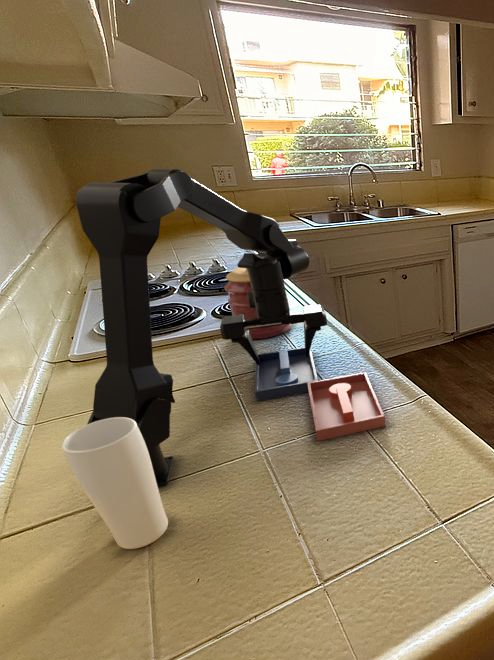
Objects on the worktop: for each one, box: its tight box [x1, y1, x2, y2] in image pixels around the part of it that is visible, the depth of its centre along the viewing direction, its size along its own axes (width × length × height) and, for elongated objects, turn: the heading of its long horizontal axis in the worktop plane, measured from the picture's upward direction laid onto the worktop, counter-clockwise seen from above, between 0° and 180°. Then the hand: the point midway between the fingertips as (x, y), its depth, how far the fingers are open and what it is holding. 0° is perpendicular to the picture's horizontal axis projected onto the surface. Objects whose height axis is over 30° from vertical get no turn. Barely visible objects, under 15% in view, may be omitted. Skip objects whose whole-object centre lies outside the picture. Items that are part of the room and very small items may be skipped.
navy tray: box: [254, 346, 319, 402], centre depth 93 cm, size 17×11×2 cm, turn 23°
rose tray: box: [307, 371, 387, 442], centre depth 82 cm, size 17×11×2 cm, turn 23°
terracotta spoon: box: [329, 383, 354, 423], centre depth 82 cm, size 13×4×2 cm, turn 23°
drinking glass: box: [60, 417, 169, 550], centre depth 53 cm, size 7×7×15 cm
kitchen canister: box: [223, 266, 292, 340], centre depth 111 cm, size 13×13×18 cm
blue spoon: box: [275, 349, 298, 387], centre depth 93 cm, size 13×4×2 cm, turn 23°
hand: (283, 360), depth 94 cm, fingers open, 9 cm apart
